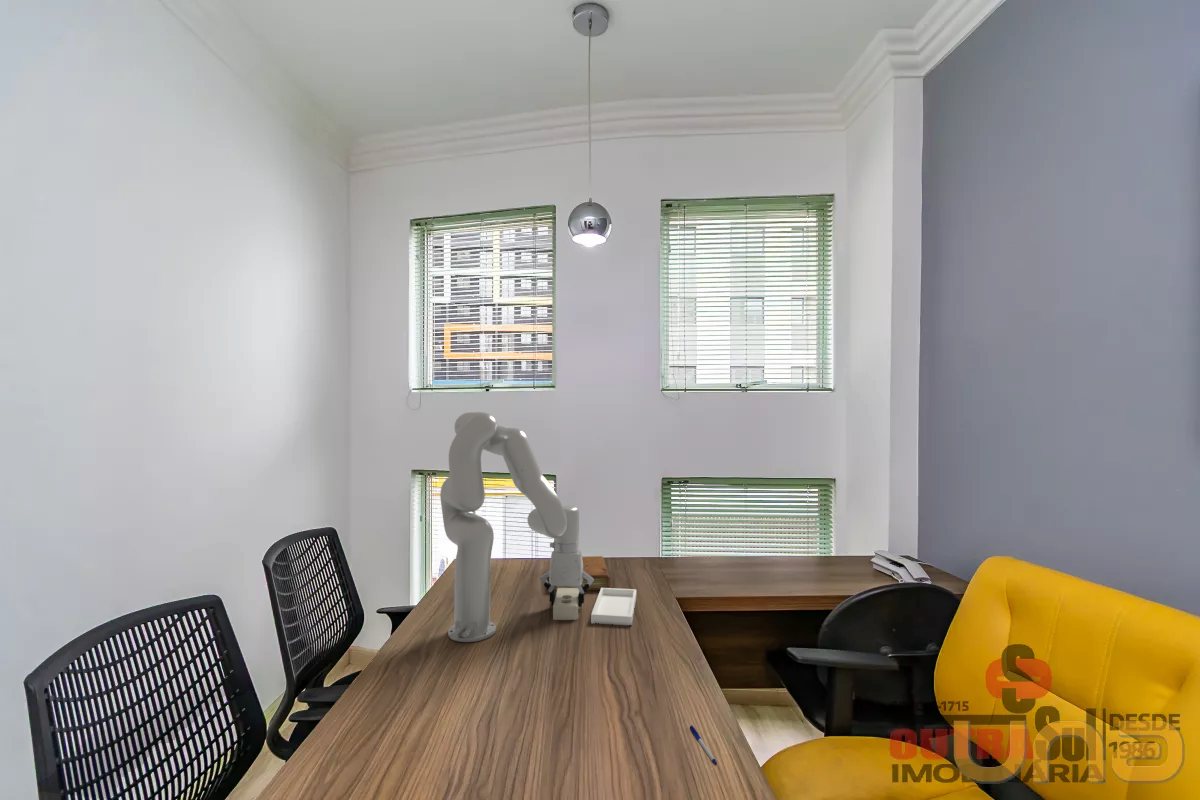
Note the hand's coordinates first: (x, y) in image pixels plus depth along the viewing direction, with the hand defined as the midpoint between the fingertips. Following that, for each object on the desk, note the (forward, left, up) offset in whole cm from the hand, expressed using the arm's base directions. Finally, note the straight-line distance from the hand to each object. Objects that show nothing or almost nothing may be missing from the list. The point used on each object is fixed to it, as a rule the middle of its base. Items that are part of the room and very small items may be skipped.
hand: (566, 604), depth 156 cm
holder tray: (+2, -15, -1) cm, 15 cm away
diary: (+28, 0, -2) cm, 28 cm away
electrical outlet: (+1, 0, -2) cm, 2 cm away
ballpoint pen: (-60, -37, -2) cm, 70 cm away
